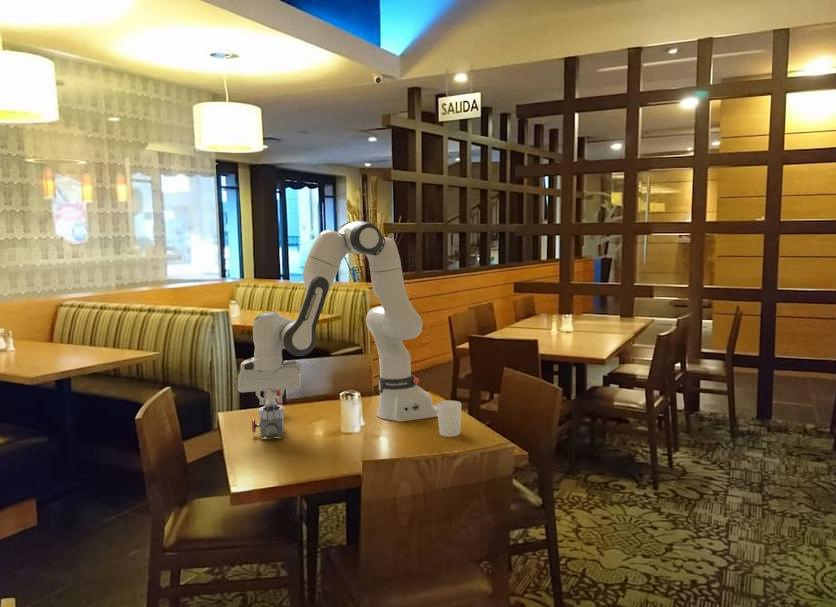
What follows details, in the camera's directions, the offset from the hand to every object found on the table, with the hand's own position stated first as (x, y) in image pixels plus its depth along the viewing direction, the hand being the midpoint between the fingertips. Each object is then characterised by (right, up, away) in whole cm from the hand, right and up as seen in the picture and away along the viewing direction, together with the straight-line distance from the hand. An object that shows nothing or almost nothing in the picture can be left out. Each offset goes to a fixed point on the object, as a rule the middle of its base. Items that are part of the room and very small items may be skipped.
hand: (270, 403), depth 209 cm
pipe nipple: (0, -3, 0) cm, 3 cm away
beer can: (-4, -8, +25) cm, 26 cm away
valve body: (-1, -11, +1) cm, 11 cm away
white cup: (+59, -10, -4) cm, 60 cm away
